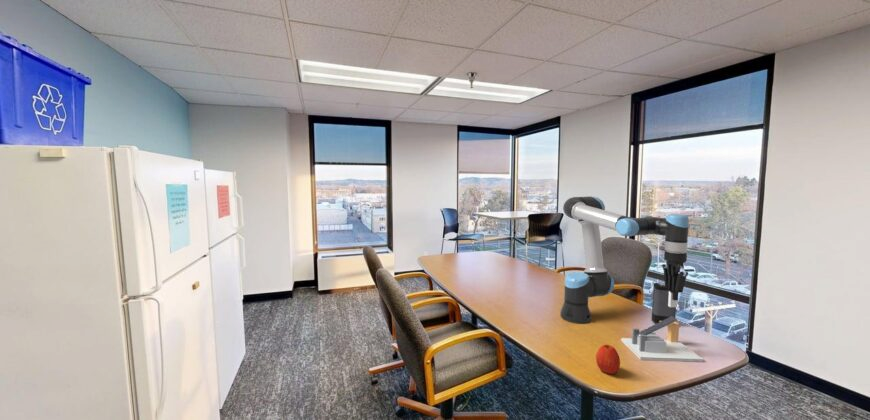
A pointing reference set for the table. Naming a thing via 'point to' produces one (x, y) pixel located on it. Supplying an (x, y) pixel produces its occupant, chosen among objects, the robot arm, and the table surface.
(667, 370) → the table surface
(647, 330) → the strap
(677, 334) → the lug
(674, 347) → the board
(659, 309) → the electronic device
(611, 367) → the apple
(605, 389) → the table surface
